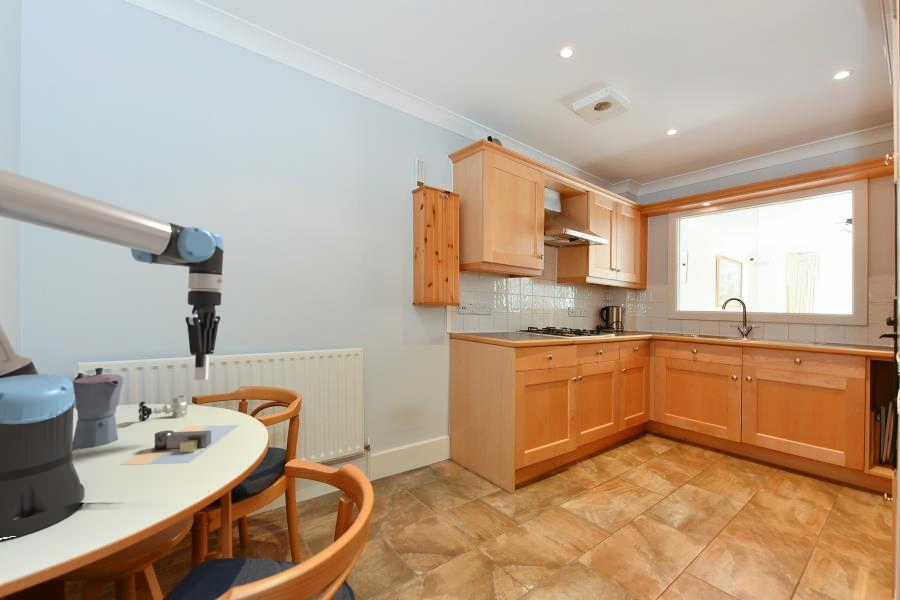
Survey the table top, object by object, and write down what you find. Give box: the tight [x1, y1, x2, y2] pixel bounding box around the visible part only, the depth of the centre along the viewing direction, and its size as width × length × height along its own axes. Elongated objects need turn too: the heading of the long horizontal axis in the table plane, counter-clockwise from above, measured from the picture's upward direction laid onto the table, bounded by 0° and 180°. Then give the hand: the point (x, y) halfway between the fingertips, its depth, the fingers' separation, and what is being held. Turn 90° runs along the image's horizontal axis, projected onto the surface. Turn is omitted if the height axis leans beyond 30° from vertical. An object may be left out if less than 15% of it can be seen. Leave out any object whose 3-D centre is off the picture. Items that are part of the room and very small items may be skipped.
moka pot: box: [72, 367, 124, 452], centre depth 96 cm, size 10×15×20 cm, turn 79°
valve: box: [137, 394, 189, 422], centre depth 118 cm, size 7×7×12 cm
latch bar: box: [153, 430, 211, 450], centre depth 93 cm, size 12×4×4 cm, turn 100°
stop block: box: [180, 440, 197, 453], centre depth 91 cm, size 2×3×2 cm, turn 97°
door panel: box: [120, 424, 240, 466], centre depth 97 cm, size 26×14×1 cm, turn 7°
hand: (201, 379), depth 101 cm, fingers closed
